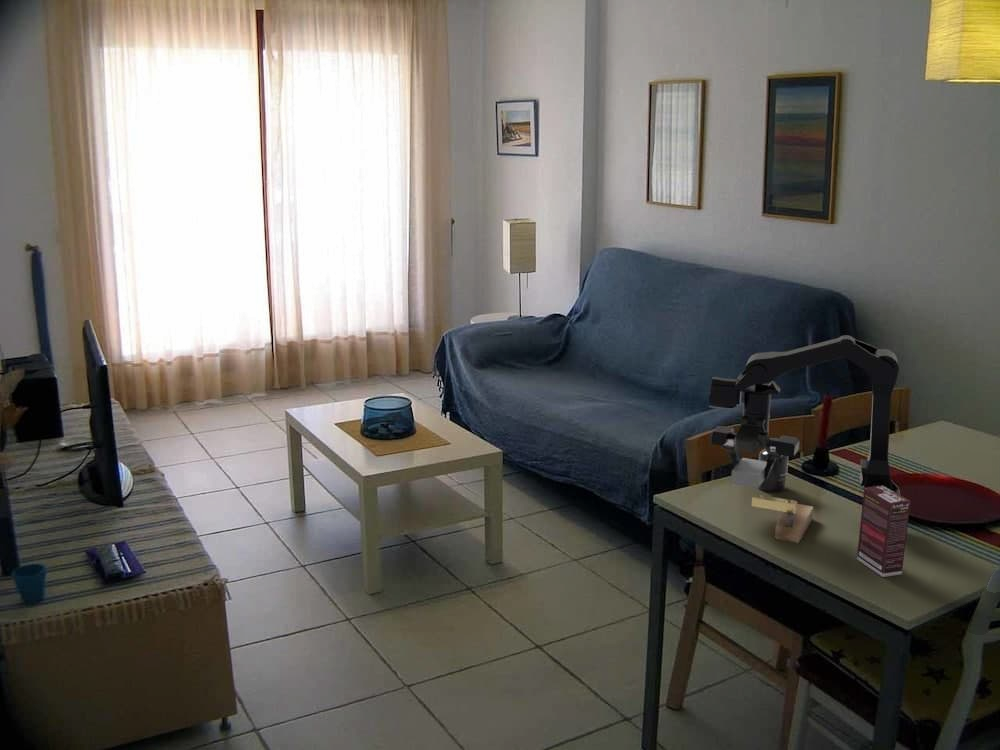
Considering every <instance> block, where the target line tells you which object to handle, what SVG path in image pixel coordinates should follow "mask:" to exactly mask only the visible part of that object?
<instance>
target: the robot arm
mask: <svg viewBox="0 0 1000 750" xmlns="http://www.w3.org/2000/svg"><path fill="white" fill-rule="evenodd" d="M841 358H842V359H843V358H844V359H847V360H849V361H851V362H852V363H853V364H855V365H856V366H858V367H859V368H860V369H862V370H864V371H866V372H868V373H869V376H870V377H869V379H870V385H871V390H872V399H871V400H872V401H871V404H872V405H871V417H870V418H871V420H870V423H871V424H870V442H869V453H868V456H867V459H862V458H861V459H860V469H861V470H860V473H859V484H860V487H863V489H864V488H866V487H873V486H885V487H887V488H888V489H890V490H892V491H894V492H896V493H897V494H899V495H901V492H900V488H899V487H898V486H897V484H895V483H894V482H893V480H892V477H891V470H890V462H889V445H890V444H889V443H890V427H891V425H890V424H891V408H892V397H893V393H894V390H895V387H896V383H897V380H898V375H899V372H900V367H899V362H898V358H897V355H896V354H895V353H894V352H893V351H892V350H890V349H885V348H880V349H879V348H877V347H875V346H874V345H872V344H869V343H865V342H864V341H861V340H858V339H856V338H854V337H853V336H851V335H849V334H846V335H845V334H844V335H841V336H839V337H837V338H833V339H829V340H826V341H822V342H818V343H814V344H811V345H807V346H803V347H799V348H796V349H791V350H788V351H787V350H786V351H768V352H767V351H766V352H756V353H754V354H752V355H751V356H749V358H748V360H747V362H746V365H745V368H744V370H743V371H742V372H741V373H739V375H738V377H737V379H734V378H725V377H724V378H723V377H719V376H713V377H712V378H711V384H710V391H709V393H708V407H709V408H715V409H716V408H717V409H727V410H736V408H737V407H738V406H741V402H742V394H743V407H742V416H741V422H740V425H739V427H738V429H737V432H735V429H734V427H732V426H731V427H730V426H724V425H718V426H717V427H715V428H714V429H713V430H712V431H711V432H710V435H709V444H711V445H717V446H721V449H723V450H726V452H728V454H729V456H730V458H731V461H732V465H733V469H734V468H735V466H736V465H737V464H738V463H739V462H740V460H741V454H742V453H741V452H746V453H749V454H756V453H757V452H758V451H759V449H765V448H767V447H770V449H771V450H770V452H769V453H768V454H767V464H766V469H765V480H766V479H767V478H768V476H769V473H770V471H771V469H772V467H773V465H774V462H775V461H776V459H777V458H781V457H782V456H788V458H789V457H791V458H793V457H795V456H796V455H797V453H798V452H799V450H800V440H799V439H798V437H794V436H789V435H783V434H782V435H781V436H779V438H777V439H778V440H776V439H770V434H769V433H770V432H769V431H770V430H769V426H770V418H771V413H770V412H771V410H770V409H771V401H772V400H771V398H772V395H780V393H781V392H780V391H781V387H779V386H778V385H777V384H776V382H775V379H776V380H777V378H780V377H781V376H783V375H785V374H786V373H789V372H791V371H795V370H799V369H802V368H803V369H804V368H806V367H811V366H815V365H819V364H823V363H826V362H831V361H834V360H838V359H841ZM769 382H770V383H769Z"/></svg>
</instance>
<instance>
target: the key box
mask: <svg viewBox="0 0 1000 750" xmlns="http://www.w3.org/2000/svg"><path fill="white" fill-rule="evenodd" d="M813 512H814V506H813V505H805V504H801V503H797V511H796V513H787V512H783V514H782V516H781V517H780V519H779V520H778V521H777V523H776V524H775V532H774V539H775V538H776V539H775V540H779V539H781V540H780V541H784V540H786V541H785V542H788V541H792V542H791V543H793V542H796V543H795V544H798V543H799V544H800V543H801V542H800V541H801V540H802V538H803V536H804V534H805V533H806V531H807V529H808V528H809V526H810V524H811V522H812V520H813V515H814V514H813Z"/></svg>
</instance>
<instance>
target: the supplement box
mask: <svg viewBox="0 0 1000 750" xmlns="http://www.w3.org/2000/svg"><path fill="white" fill-rule="evenodd" d="M861 506H862V507H861V513H860V515H861V516H860V523H859V524H860V525H859V533H858V534H859V535H858V543H857V544H858V545H857V553H856V560H857V561H859V562H860V563H862V564H863V565H865V566H866V567H868V568H869V569H870V570H872V571H873V572H875V573H877V574H878V575H879V577H880V576H881V577H882V578H887V577H888V578H889V577H893V576H900V575H902V574H903V567H904V558H905V549H906V544H907V543H906V542H907V535H908V527H909V525H908V524H909V517H910V509H911V500H910V499H908V498H906V497H905V496H903V495H901V494H900V495H899V494H897V493H896V492H894V491H892V490H890V489H888V488H887V487H885V486H873V487H866V488H864V487H863V498H862V505H861Z"/></svg>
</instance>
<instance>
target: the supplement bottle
mask: <svg viewBox="0 0 1000 750" xmlns="http://www.w3.org/2000/svg"><path fill="white" fill-rule="evenodd" d="M769 438H770V437H769ZM770 439H776V440H778V439H779V438H775V437H771V438H770ZM770 450H771V449H770V447H767V448H763V449H762V450H760V452H759V455H758V460H760V461H766V462H767V454H768V453H769V452H770ZM788 465H789V456H782V457H781V458H777V459H776V461H775V462H774V465H773V467H772V469H771V471H770V473H769V476H768V478H767V479H766V480H764V481H763V482H762V484H761V485H760V486H759V488H758V489H760V490H761V491H764V492H766V493H781V492H783V491H785V490H786V485H787V479H788V478H787V477H788V468H789V467H788Z"/></svg>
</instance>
